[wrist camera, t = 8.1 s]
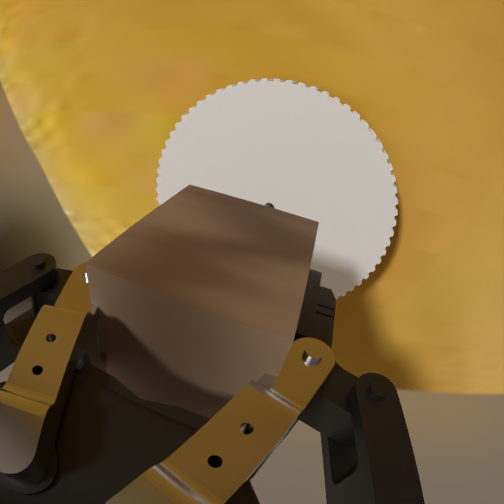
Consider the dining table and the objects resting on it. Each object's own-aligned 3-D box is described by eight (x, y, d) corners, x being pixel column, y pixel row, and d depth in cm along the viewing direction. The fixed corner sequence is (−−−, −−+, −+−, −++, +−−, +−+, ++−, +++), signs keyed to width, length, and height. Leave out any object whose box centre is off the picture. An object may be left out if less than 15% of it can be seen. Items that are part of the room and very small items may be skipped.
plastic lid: (183, 70, 17) (162, 69, 15) (416, 111, 15) (427, 115, 13) (173, 261, 24) (157, 278, 22) (354, 308, 22) (354, 332, 20)
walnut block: (319, 222, 11) (293, 340, 6) (284, 322, 14) (247, 440, 9) (189, 184, 12) (85, 263, 7) (179, 287, 14) (107, 382, 9)
